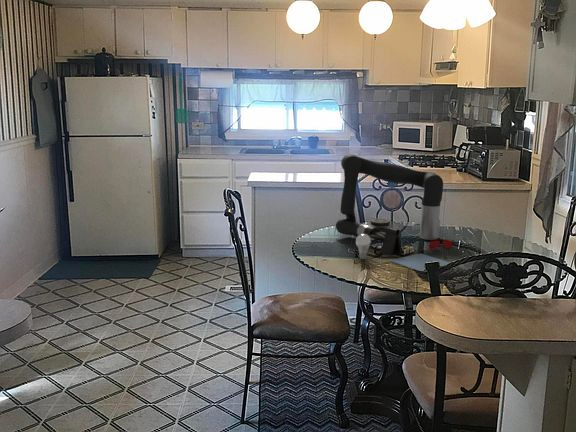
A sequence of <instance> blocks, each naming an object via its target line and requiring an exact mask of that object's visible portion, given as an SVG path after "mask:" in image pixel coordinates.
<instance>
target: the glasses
mask: <svg viewBox="0 0 576 432" xmlns="http://www.w3.org/2000/svg"><path fill="white" fill-rule="evenodd" d="M429 241H430V242H429V244H427V246H428V249H429V250H430V251H431V250H436V251H438V252H440V253H442V254H443V255H444V257H445V260H446V261H447V260H448V257H447V256H446V253H444V251H442V250H440V249H438V248H437V247H439V248H440V247H441V244H442V246H443V247H445V248H446V249H450V248H452V247H453V246H456V247H458V248H460V249H462V250H464V251H466V252H468V254H469V256H470V255H471V256H472V257H473V255H472V253H471V252H470V251H469V250H468V249H466V248H464V247H462V246H460V245H457V244H455V243H454V241H453V239H451V240H450V239H441V240H440V239H436V240H429ZM441 241H442V242H441ZM440 242H441V243H440ZM471 256H470V257H471Z"/></svg>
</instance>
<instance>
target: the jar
mask: <svg viewBox="0 0 576 432" xmlns="http://www.w3.org/2000/svg"><path fill="white" fill-rule="evenodd" d="M369 225H370V226H373V227H377V228H378V229H379V230H380V232H384V233H386V228H387V227H391V221H390V219H385V218H372V219H370V224H369Z"/></svg>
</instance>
